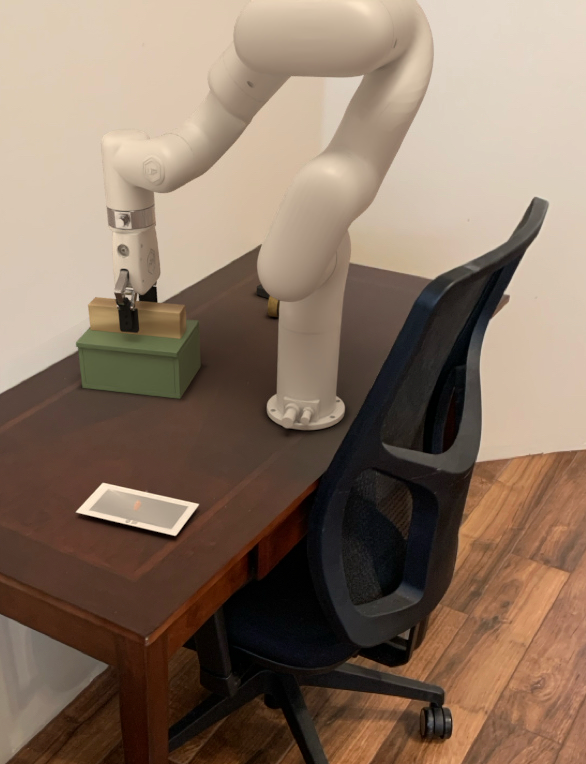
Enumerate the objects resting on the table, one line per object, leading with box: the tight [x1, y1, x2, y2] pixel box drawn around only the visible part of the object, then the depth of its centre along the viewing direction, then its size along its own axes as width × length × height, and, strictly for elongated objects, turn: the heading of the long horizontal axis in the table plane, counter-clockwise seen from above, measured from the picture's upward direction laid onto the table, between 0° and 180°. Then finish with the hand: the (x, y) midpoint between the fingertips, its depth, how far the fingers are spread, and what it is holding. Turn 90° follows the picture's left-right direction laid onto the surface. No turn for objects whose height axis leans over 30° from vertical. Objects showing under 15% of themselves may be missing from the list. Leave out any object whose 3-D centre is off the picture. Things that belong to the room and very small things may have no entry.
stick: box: [87, 296, 187, 339], centre depth 151 cm, size 4×16×4 cm, turn 75°
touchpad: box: [75, 482, 200, 537], centre depth 123 cm, size 8×15×2 cm, turn 67°
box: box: [77, 325, 202, 400], centre depth 155 cm, size 13×18×8 cm
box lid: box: [75, 318, 200, 357], centre depth 152 cm, size 13×18×1 cm
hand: (139, 319), depth 151 cm, fingers open, 9 cm apart
